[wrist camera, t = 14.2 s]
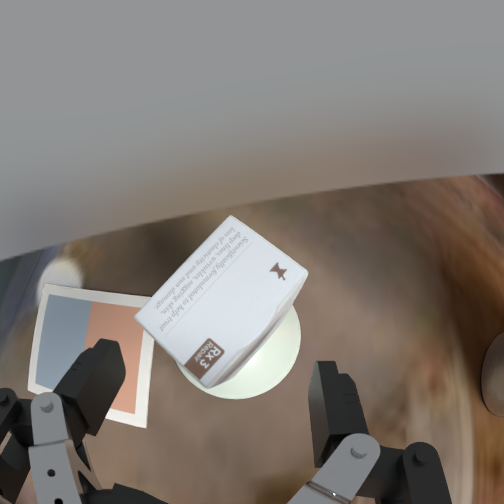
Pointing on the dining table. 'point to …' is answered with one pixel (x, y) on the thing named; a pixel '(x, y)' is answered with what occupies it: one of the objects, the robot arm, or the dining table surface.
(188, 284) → the skincare box
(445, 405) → the dining table surface
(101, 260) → the dining table surface
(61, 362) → the blue and orange card
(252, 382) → the coaster
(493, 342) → the robot arm
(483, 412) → the dining table surface
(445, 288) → the dining table surface
